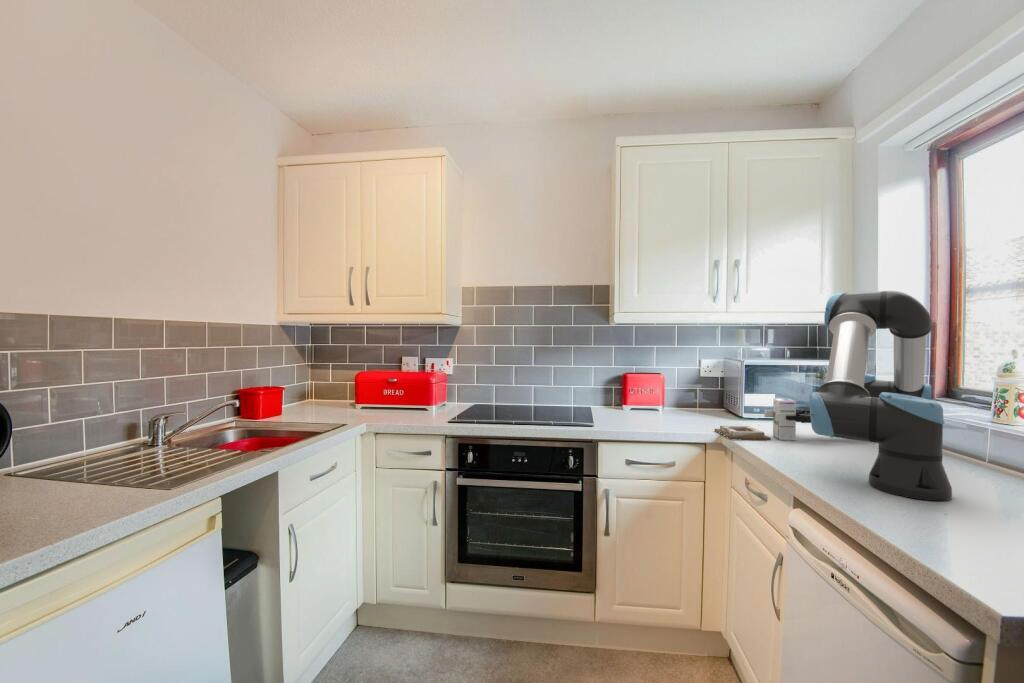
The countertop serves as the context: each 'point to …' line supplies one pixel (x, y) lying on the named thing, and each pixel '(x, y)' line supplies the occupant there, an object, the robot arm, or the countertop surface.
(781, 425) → the syrup box
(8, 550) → the countertop surface
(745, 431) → the board
